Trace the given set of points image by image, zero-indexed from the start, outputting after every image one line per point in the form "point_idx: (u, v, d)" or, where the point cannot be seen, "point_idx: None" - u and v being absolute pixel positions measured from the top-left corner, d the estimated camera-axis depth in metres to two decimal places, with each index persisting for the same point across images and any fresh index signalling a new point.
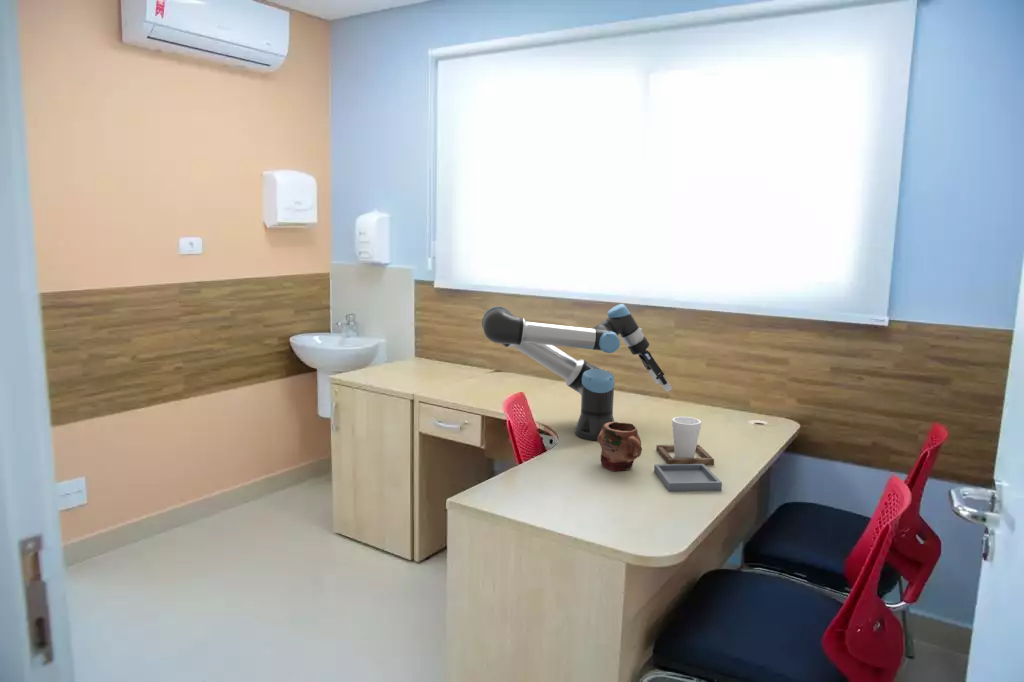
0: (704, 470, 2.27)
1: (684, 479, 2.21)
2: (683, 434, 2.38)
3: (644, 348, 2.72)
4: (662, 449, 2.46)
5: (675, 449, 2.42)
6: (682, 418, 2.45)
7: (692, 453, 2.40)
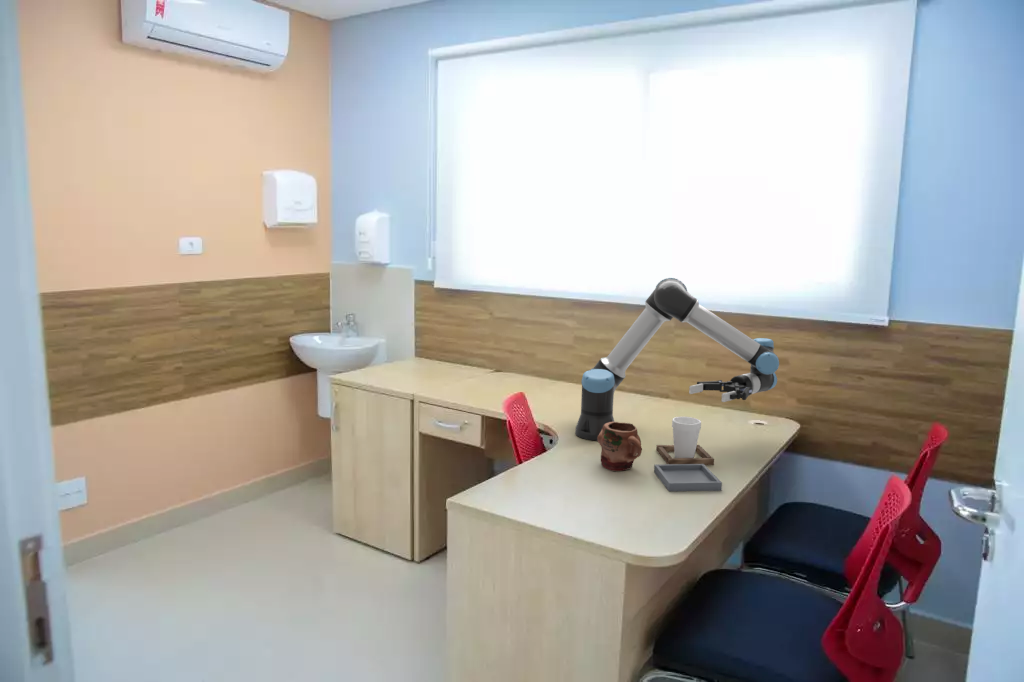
0: (704, 470, 2.27)
1: (684, 479, 2.21)
2: (683, 434, 2.38)
3: None
4: (662, 449, 2.46)
5: (675, 449, 2.42)
6: (682, 418, 2.45)
7: (692, 453, 2.40)
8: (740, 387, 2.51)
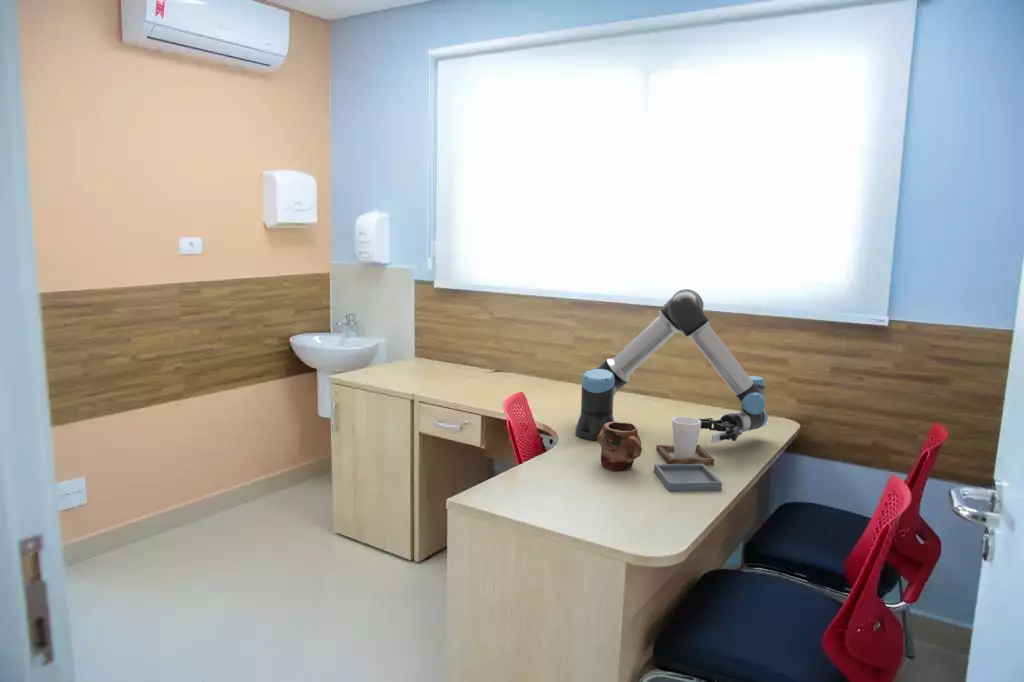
0: (704, 470, 2.27)
1: (684, 479, 2.21)
2: (683, 434, 2.38)
3: None
4: (662, 449, 2.46)
5: (675, 449, 2.42)
6: (682, 418, 2.45)
7: (692, 453, 2.40)
8: (730, 426, 2.50)
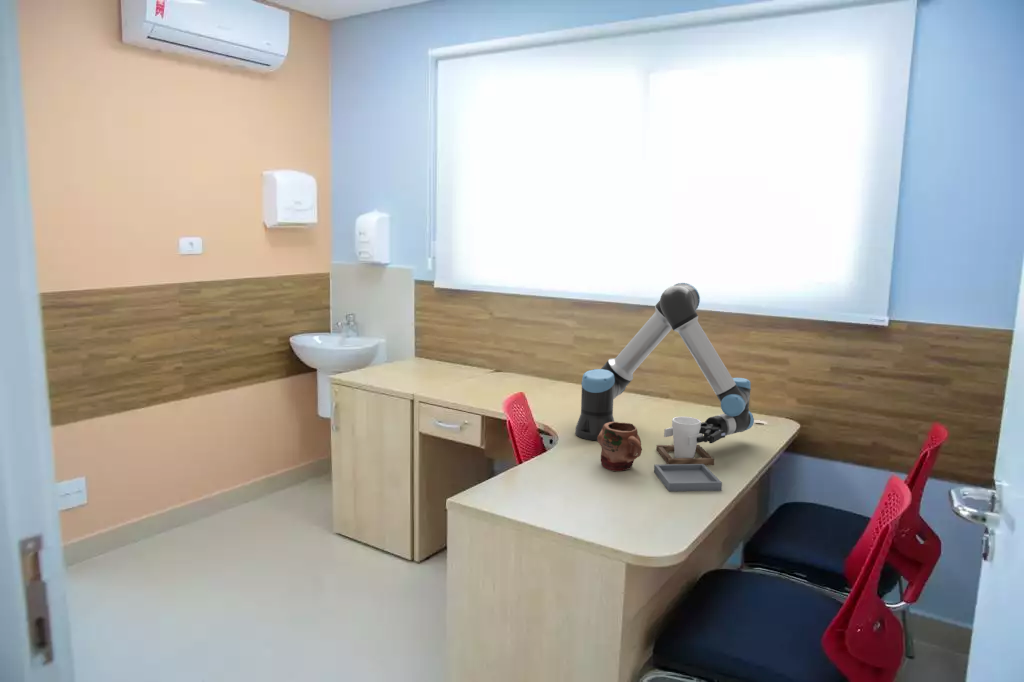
0: (704, 470, 2.27)
1: (684, 479, 2.21)
2: (683, 434, 2.38)
3: None
4: (662, 449, 2.46)
5: (675, 449, 2.42)
6: (682, 418, 2.45)
7: (692, 453, 2.40)
8: (715, 429, 2.46)
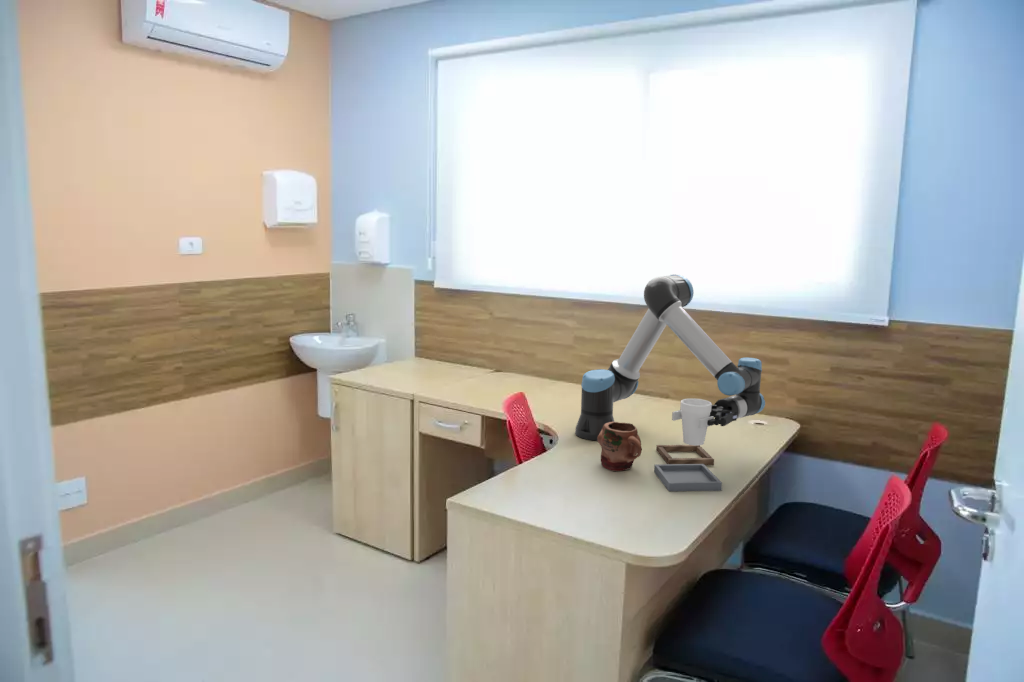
0: (704, 470, 2.27)
1: (684, 479, 2.21)
2: (693, 416, 2.22)
3: None
4: (662, 449, 2.46)
5: (684, 433, 2.26)
6: (691, 400, 2.30)
7: (702, 437, 2.25)
8: (725, 412, 2.30)
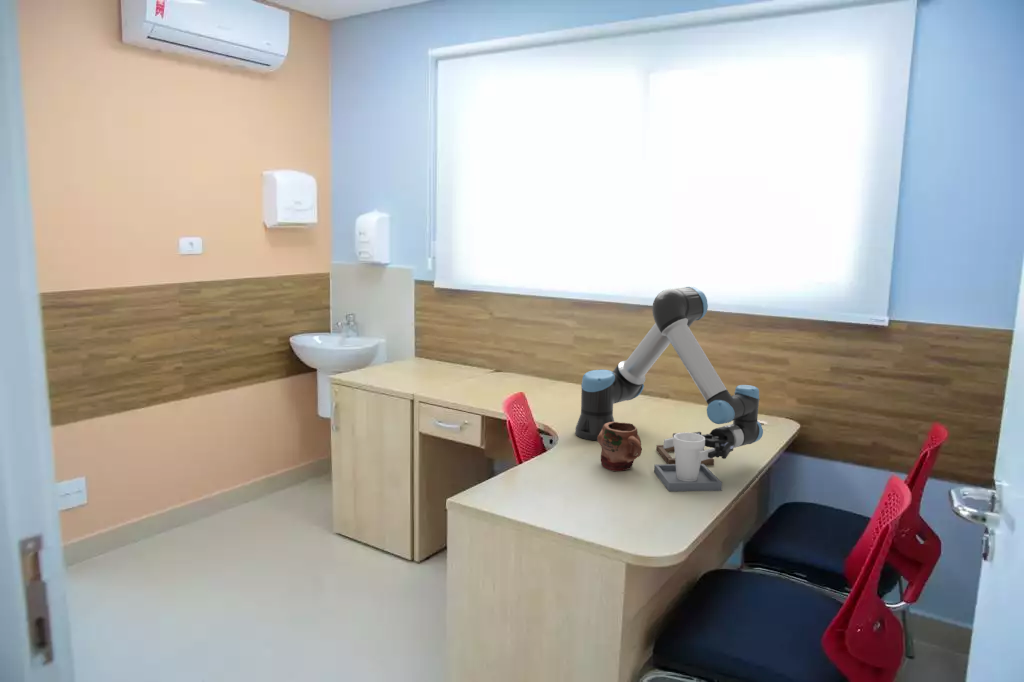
0: (704, 470, 2.27)
1: None
2: (686, 452, 2.17)
3: None
4: (662, 449, 2.46)
5: (677, 468, 2.21)
6: (684, 434, 2.24)
7: (696, 473, 2.19)
8: (720, 442, 2.24)
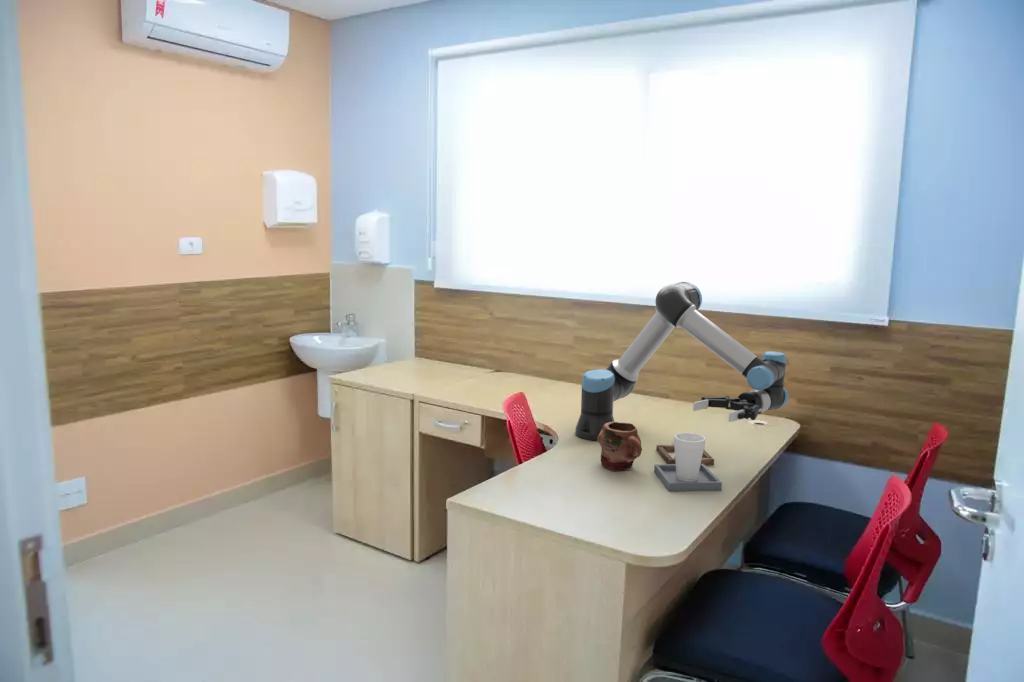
0: (704, 470, 2.27)
1: None
2: (686, 452, 2.17)
3: None
4: (662, 449, 2.46)
5: (677, 468, 2.21)
6: (684, 434, 2.24)
7: (696, 473, 2.19)
8: (749, 405, 2.30)
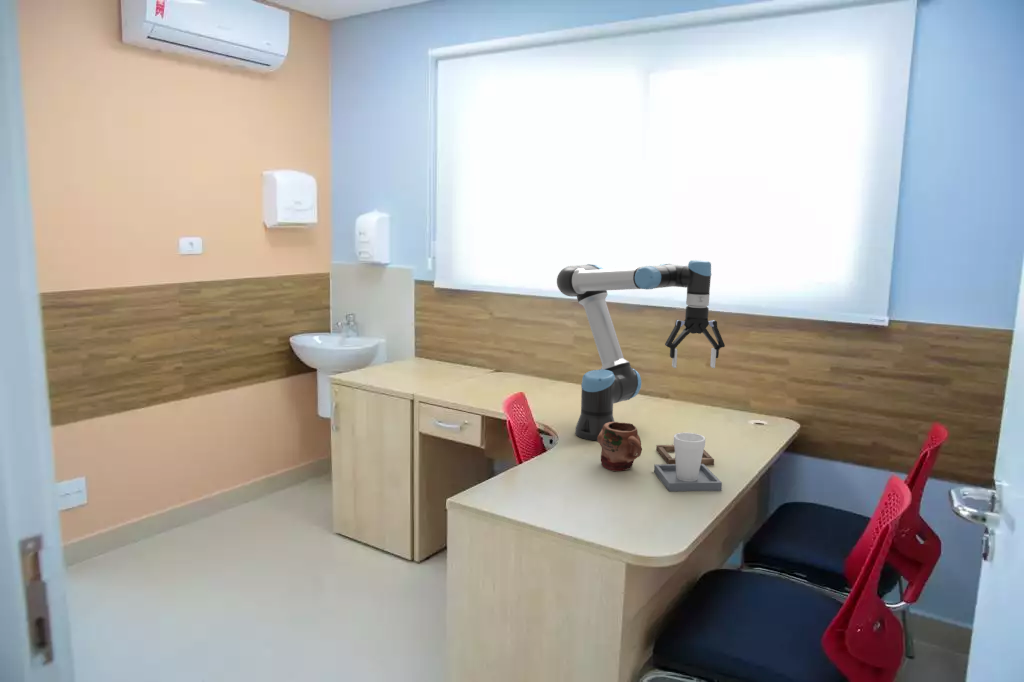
0: (704, 470, 2.27)
1: None
2: (686, 452, 2.17)
3: (687, 315, 2.45)
4: (662, 449, 2.46)
5: (677, 468, 2.21)
6: (684, 434, 2.24)
7: (696, 473, 2.19)
8: None
